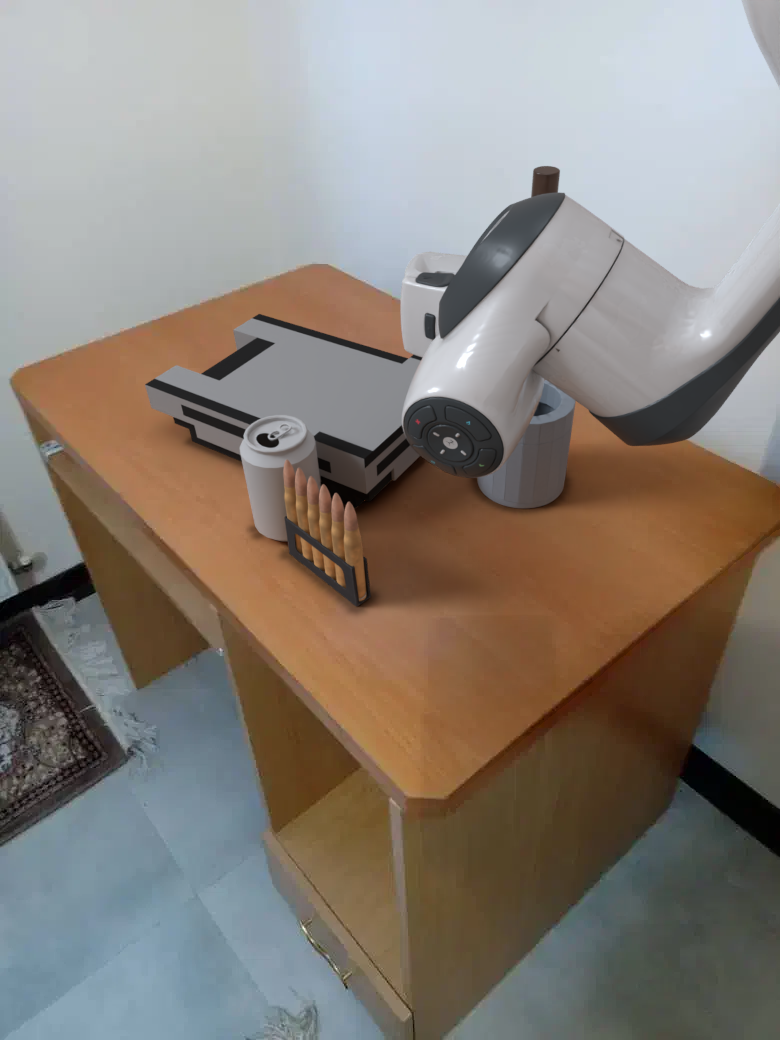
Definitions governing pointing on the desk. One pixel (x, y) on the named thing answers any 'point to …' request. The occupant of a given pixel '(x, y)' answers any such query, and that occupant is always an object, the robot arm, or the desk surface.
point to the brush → (545, 180)
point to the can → (275, 467)
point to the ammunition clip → (325, 536)
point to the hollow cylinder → (536, 456)
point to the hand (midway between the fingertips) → (539, 258)
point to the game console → (301, 401)
